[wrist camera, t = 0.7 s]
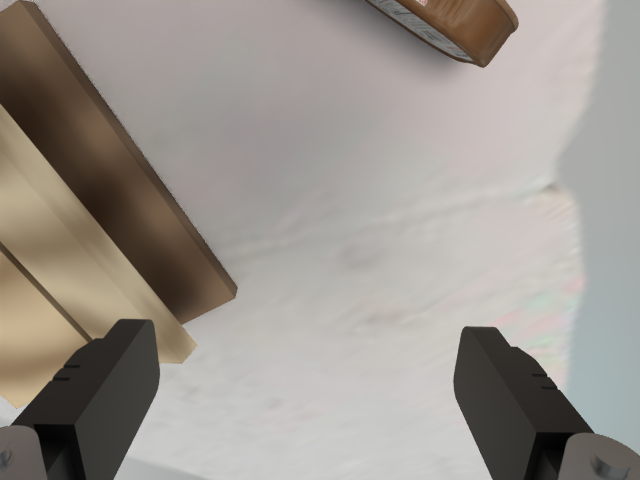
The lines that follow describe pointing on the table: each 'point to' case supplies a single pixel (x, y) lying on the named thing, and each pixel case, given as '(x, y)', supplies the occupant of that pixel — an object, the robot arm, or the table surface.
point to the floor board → (87, 205)
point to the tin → (455, 25)
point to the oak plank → (74, 249)
